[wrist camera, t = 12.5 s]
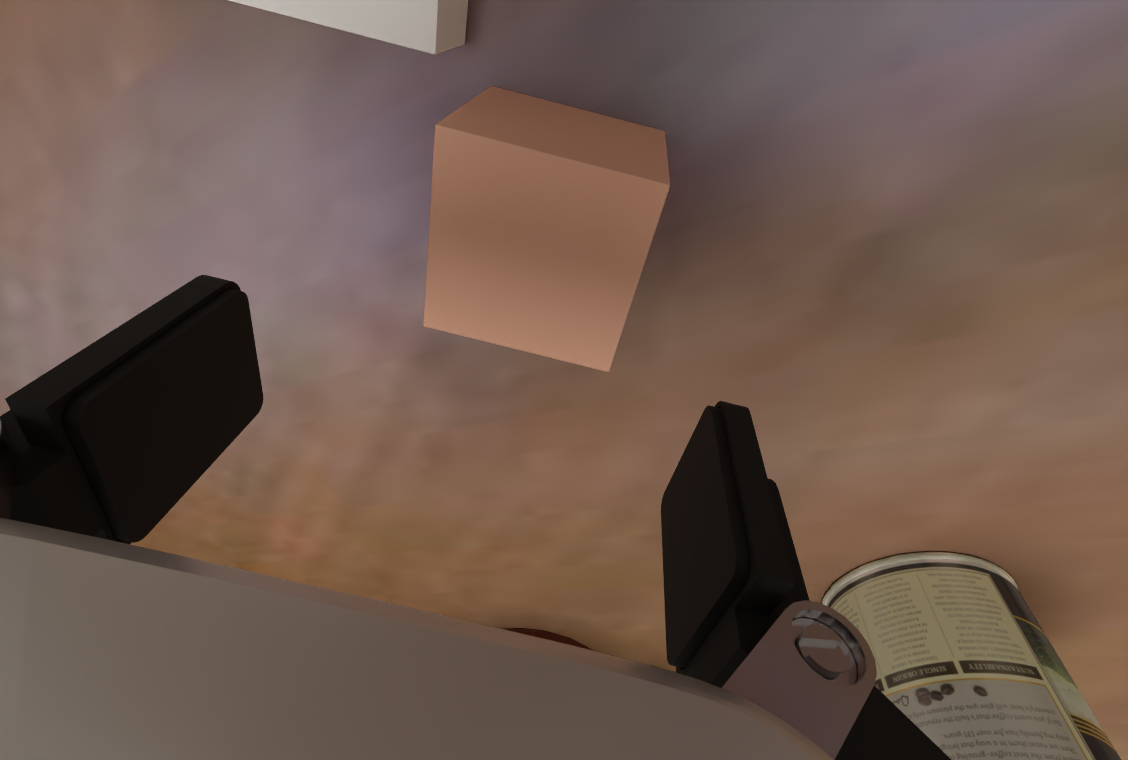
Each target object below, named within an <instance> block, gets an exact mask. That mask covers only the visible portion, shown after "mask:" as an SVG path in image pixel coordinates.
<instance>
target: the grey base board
mask: <svg viewBox="0 0 1128 760" xmlns="http://www.w3.org/2000/svg"><path fill="white" fill-rule="evenodd" d="M229 1H233V2H237V3H240V4H244V5H248V6H252V7H256V8H260V9H263V10H267V11H271V12H275V13H279V14H282V15H286V16H290V17H294V18H298V19H302V20H305V21H309V22H313V23H317V24H321V25H324V26H328V27H332V28H336V29H340V30H343V31H347V32H351V33H355V34H359V35H363V36H366V37H370V38H374V39H378V40H382V41H385V42H389V43H393V44H397V45H401V46H405V47H408V48H412V49H416V50H420V51H424V52H427V53H431V54H438V53H441V52H444V51H446V50H449V49H452V48H455V47H458V46H461V45H463V44H465V34H466V22H467V10H468V0H229Z"/></svg>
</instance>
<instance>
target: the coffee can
mask: <svg viewBox="0 0 1128 760" xmlns="http://www.w3.org/2000/svg"><path fill="white" fill-rule="evenodd" d="M822 604H824V605H826V606H828V607H831V608H833V609H834V610H836V611H837V612H839V613H840V614H841V615H843V616H844V617H846V618H847V619H848V620H849V621H850V622H851V623H852V624H853V625H854V626H855V627H856V628H857V629H858V630H859V631H860V633H861V634H862V636H863V637H864V638H865V640H866V641H867V643H868V644H869V646H870V649H871V651H872V653H873V656H874V658H875V663H876V670H877V676H876V680H875V684H874V685H875V686H876V687H877V688H878V689H879V690H880V691H881V692H882V693H883V694H884V695H885V696H886V697H887V698H888V699H889V700H890V701H891V702H892V703H893V704H894V705H895V706H896V707H897V708H898V709H899V710H901V711H902V712H903V713H904V714H905V715H906V716H907V717H908V718H909V719H910V720H911V721H912V722H913V723H914V724H915V725H916V726H917V727H918V728H919V729H920V730H921V731H922V732H923V733H924V734H925V735H926V736H928V737H929V738H930V739H931V740H932V741H933V742H934V743H935V744H936V745H937V746H938V747H939V748H940V749H941V750H942V751H943V752H944V753H945V754H946V755H947V756H948V757H949V758H950V759H951V760H1121V759H1120V757H1119V755H1118V754H1117V752H1116V750H1115V749H1114V747H1113V745H1112V744H1111V742H1110V740H1109V739H1108V737H1107V736H1106V734H1105V732H1104V731H1103V729H1102V727H1101V726H1100V724H1099V722H1098V721H1097V719H1096V718H1095V716H1094V714H1093V713H1092V711H1091V709H1090V708H1089V706H1088V704H1087V703H1086V701H1085V699H1084V698H1083V696H1082V694H1081V693H1080V691H1079V690H1078V688H1077V686H1076V685H1075V683H1074V681H1073V680H1072V678H1071V676H1070V675H1069V673H1068V671H1067V670H1066V668H1065V667H1064V665H1063V663H1062V662H1061V660H1060V658H1059V657H1058V655H1057V653H1056V652H1055V650H1054V648H1053V647H1052V645H1051V643H1050V642H1049V640H1048V639H1047V637H1046V635H1045V633H1044V632H1043V630H1042V628H1041V627H1040V625H1039V623H1038V622H1037V620H1036V618H1035V617H1034V615H1033V614H1032V612H1031V611H1030V609H1029V607H1028V605H1027V604H1026V602H1025V601H1024V599H1023V597H1022V596H1021V594H1020V592H1019V589H1018V586H1017V584H1016V583H1015V581H1014V579H1013V578H1012V577H1011V576H1010V575H1009V574H1008V573H1007V572H1005V571H1004V570H1003V569H1001V568H1000V567H998V566H996V565H995V564H993V563H991V562H988V561H986V560H983V559H980V558H977V557H974V556H969V555H963V554H958V553H950V552H919V553H908V554H900V555H894V556H891V557H888V558H885V559H880V560H876V561H873V562H870V563H867V564H865V565H863V566H861V567H859V568H857V569H854V570H853V571H851V572H849V573H848V574H846V575H844V576H843V577H842V578H840V579H839V580H838V581H836V582H835V583H834V584H833V585H832V586H831V588H830V589H829V590H828V592H827V593H826V594H825V596H824V598H823V600H822Z"/></svg>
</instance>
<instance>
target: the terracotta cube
mask: <svg viewBox="0 0 1128 760" xmlns="http://www.w3.org/2000/svg"><path fill="white" fill-rule="evenodd" d="M669 188H670V177H669V167H668V157H667V147H666V137H665V131H662V130H659V129H655V128H651V127H647V126H643V125H640V124H636V123H632V122H628V121H624V120H620V119H617V118H613V117H609V116H605V115H601V114H597V113H594V112H590V111H586V110H582V109H578V108H574V107H571V106H567V105H563V104H559V103H555V102H552V101H548V100H544V99H540V98H536V97H532V96H529V95H525V94H521V93H517V92H513V91H509V90H506V89H502V88H498V87H494V86H490V87H489V88H487V89H486V90H485V91H483V92H482V93H480V94H479V95H477V96H476V97H474V98H473V99H471V100H470V101H469V102H467V103H466V104H464V105H463V106H461V107H460V108H458V109H457V110H456V111H454V112H453V113H451V114H450V115H448V116H447V117H445V118H444V119H442V120H441V121H440V122H438V123H437V124H435V137H434V155H433V172H432V189H431V207H430V224H429V241H428V259H427V276H426V293H425V311H424V326H425V327H429V328H433V329H437V330H441V331H445V332H449V333H453V334H457V335H461V336H465V337H469V338H473V339H477V340H481V341H486V342H490V343H494V344H498V345H502V346H506V347H510V348H514V349H518V350H522V351H526V352H530V353H534V354H538V355H542V356H546V357H550V358H554V359H558V360H562V361H566V362H570V363H574V364H578V365H582V366H586V367H590V368H594V369H598V370H602V371H606V372H609V369H610V366H611V363H612V360H613V357H614V354H615V351H616V348H617V345H618V342H619V339H620V336H621V333H622V330H623V327H624V324H625V321H626V318H627V315H628V312H629V309H630V306H631V303H632V300H633V297H634V294H635V291H636V288H637V285H638V282H639V279H640V276H641V272H642V269H643V266H644V263H645V260H646V257H647V254H648V251H649V248H650V245H651V242H652V239H653V236H654V233H655V230H656V227H657V224H658V221H659V218H660V215H661V212H662V209H663V206H664V203H665V200H666V197H667V194H668V191H669Z"/></svg>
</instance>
